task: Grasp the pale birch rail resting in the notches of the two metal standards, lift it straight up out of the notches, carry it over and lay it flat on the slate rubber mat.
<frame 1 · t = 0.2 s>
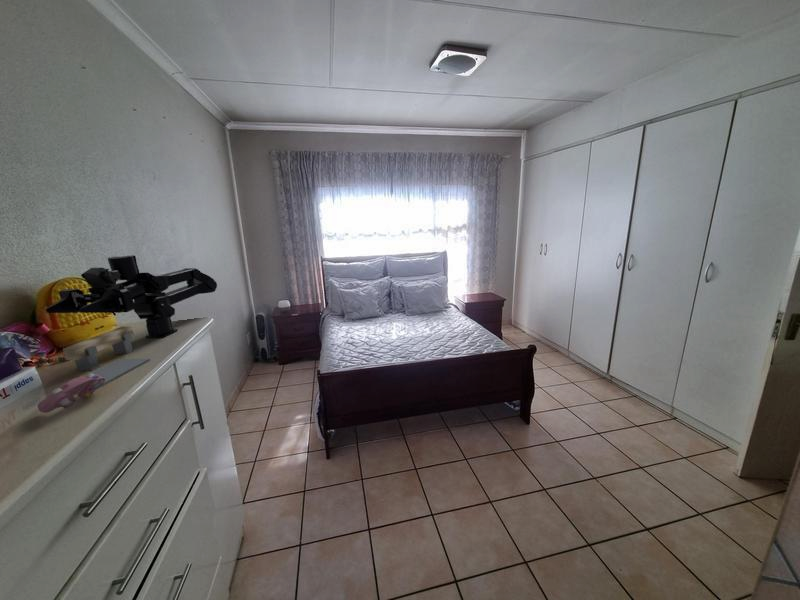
hand: (63, 310, 77), 16 cm above the dresser top, tool horizontal, fingers open, 9 cm apart
slate mat: (107, 374, 79), on the dresser top
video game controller: (76, 402, 67), on the dresser top, touching slate mat
metal standards: (107, 359, 88), on the dresser top
birch rail: (103, 346, 87), point 4 cm above the dresser top, touching metal standards
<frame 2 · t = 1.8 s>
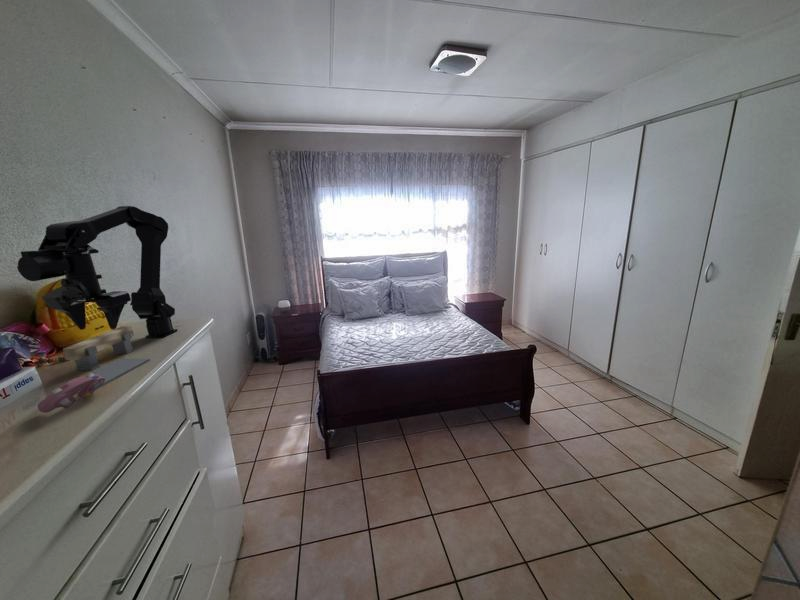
hand: (98, 329, 85), 9 cm above the dresser top, tool pointing down, fingers open, 9 cm apart
nothing on the dresser top moved.
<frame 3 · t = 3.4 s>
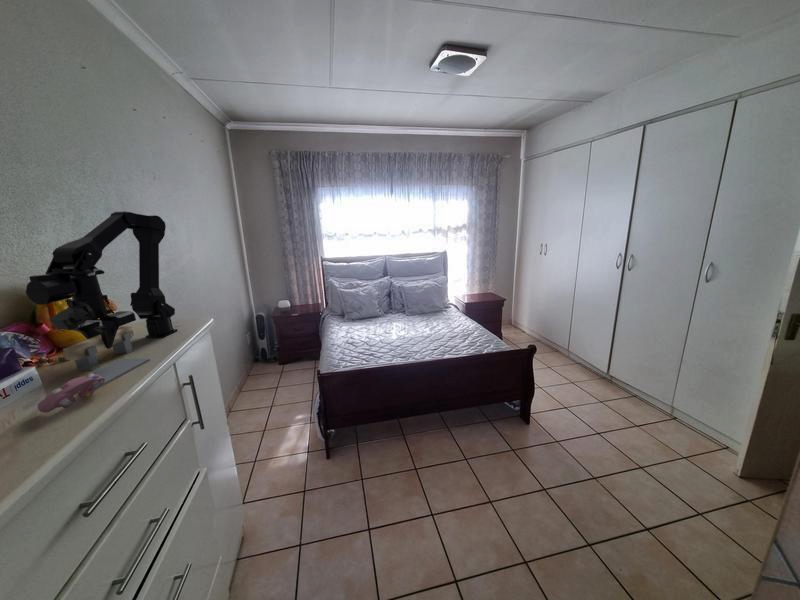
hand: (103, 348, 87), 4 cm above the dresser top, tool pointing down, fingers closed on birch rail, 3 cm apart
birch rail: (103, 346, 87), point 4 cm above the dresser top, touching gripper, metal standards
everything else where it was.
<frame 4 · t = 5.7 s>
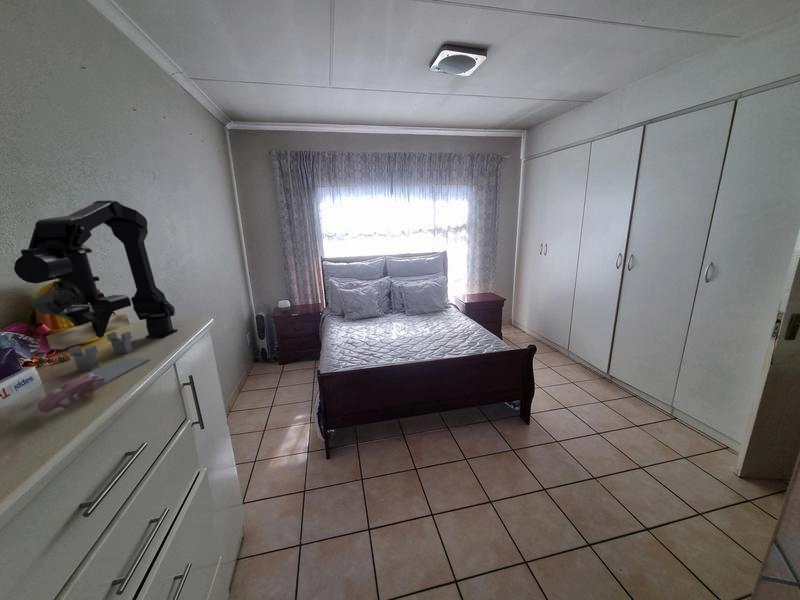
hand: (94, 337, 77), 10 cm above the dresser top, tool pointing down, fingers closed on birch rail, 3 cm apart
birch rail: (94, 335, 76), point 11 cm above the dresser top, touching gripper
everything else where it was.
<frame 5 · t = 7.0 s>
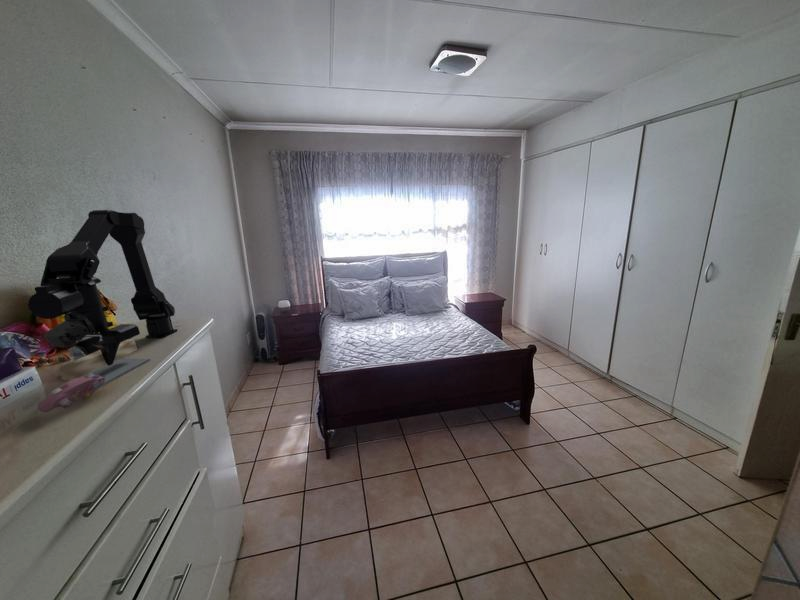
hand: (104, 364, 79), 3 cm above the dresser top, tool pointing down, fingers closed on birch rail, 3 cm apart
birch rail: (103, 363, 78), point 3 cm above the dresser top, touching gripper
everything else where it was.
when the fingers open (2 cm above the dresser top, at t = 7.8 s): birch rail drops 2 cm, resting on slate mat.
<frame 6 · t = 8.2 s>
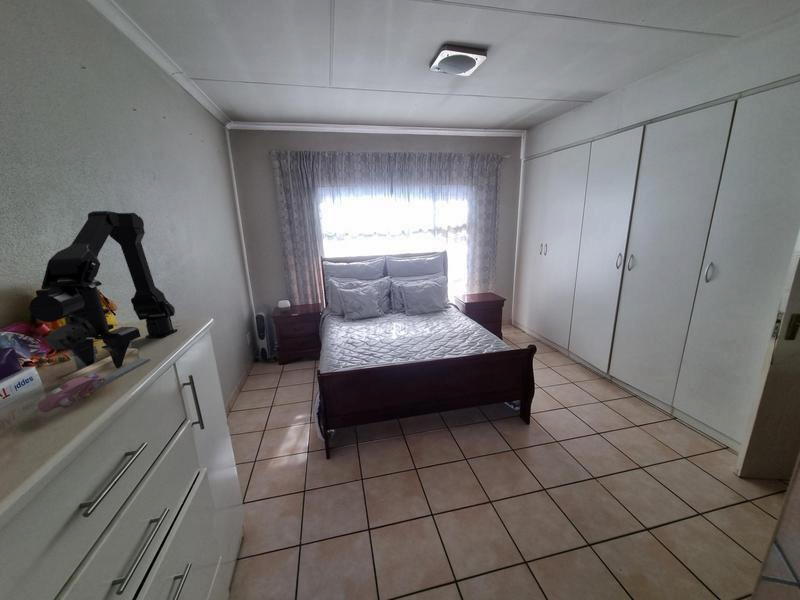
hand: (105, 367, 79), 2 cm above the dresser top, tool pointing down, fingers open, 7 cm apart
birch rail: (106, 372, 79), resting on slate mat
everything else where it was.
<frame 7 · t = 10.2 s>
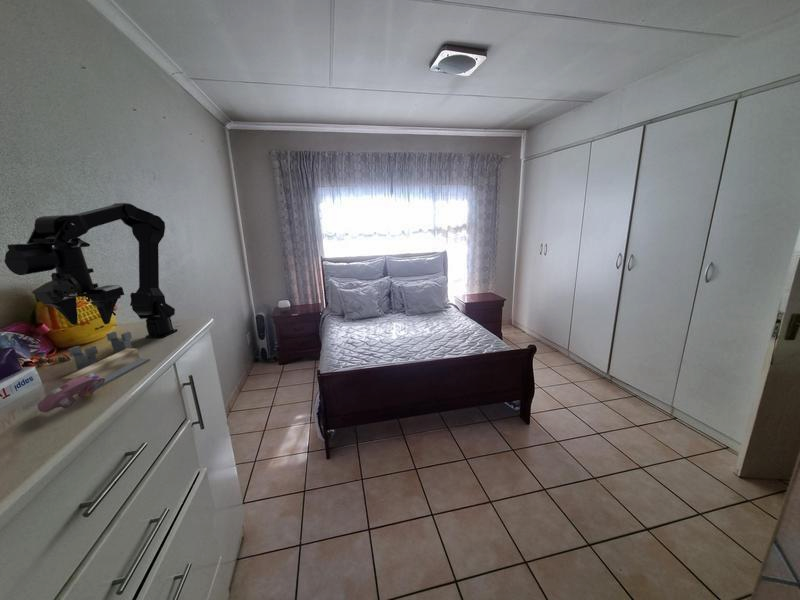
hand: (90, 324, 84), 11 cm above the dresser top, tool pointing down, fingers open, 9 cm apart
nothing on the dresser top moved.
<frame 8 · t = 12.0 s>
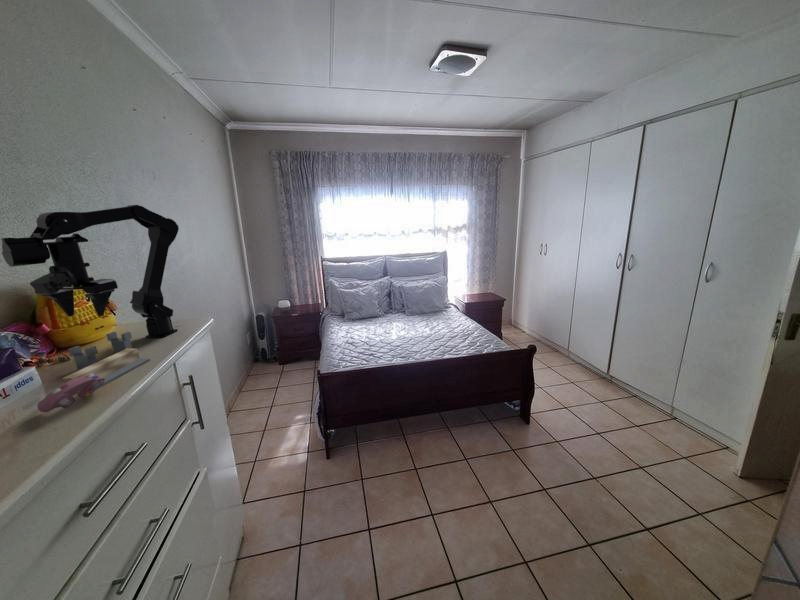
hand: (86, 315, 88), 12 cm above the dresser top, tool pointing down, fingers open, 9 cm apart
nothing on the dresser top moved.
at the end: birch rail 0.0 cm off-centre on the slate mat, point 0.5 cm above the slate mat's base; birch rail touching slate mat; the gripper is holding nothing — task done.
